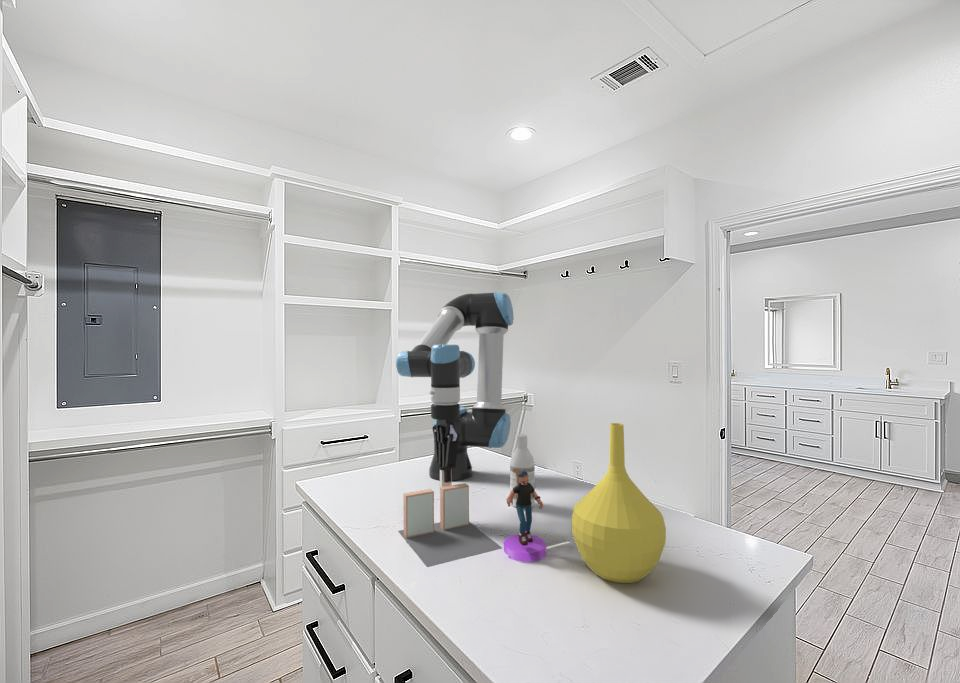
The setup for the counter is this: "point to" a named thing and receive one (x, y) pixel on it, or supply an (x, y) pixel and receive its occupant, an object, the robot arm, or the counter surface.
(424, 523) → the tile
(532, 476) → the bath foam
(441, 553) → the mat
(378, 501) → the counter surface
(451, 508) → the tile
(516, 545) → the figurine
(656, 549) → the vase
